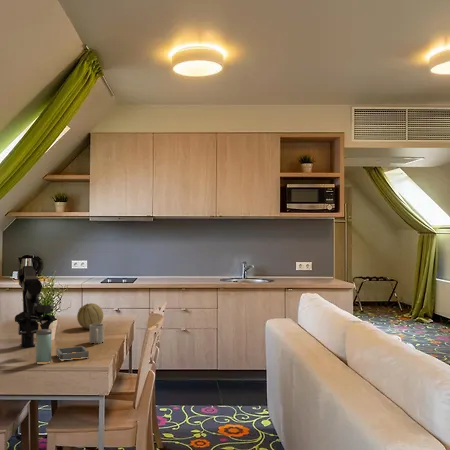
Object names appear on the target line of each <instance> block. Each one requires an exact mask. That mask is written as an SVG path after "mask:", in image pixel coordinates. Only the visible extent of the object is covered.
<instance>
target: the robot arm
mask: <svg viewBox="0 0 450 450" xmlns="http://www.w3.org/2000/svg"><path fill="white" fill-rule="evenodd" d="M36 274H37V273H36V269H35V268H34V266H33V265H24V266H22V267H21V268H20V269H18V270H17V274H16V275H17V278H16V280H17V281H18V285H19V286H20V288H22V289H21V290H22V291H21V292H22V312H20V313H18V314H15V315H14V322H15V323H17V325H18V328H17V333H18V335H19V336H20V337H21V339H20V340H21V341H20V342H21V343H20V344H19V347H20V348H21V347H24V348H32V347H35V348H36V343H35V342H34V341H35V336H34V335H35V334H36V331H37V330H39V327H40V329H50V328H49V327H50V325H51V324H53V322H55V321H56V317H55V315H53V314H50V313H52V312H53V311H54V305H53V304H47V305H46V304H42V303H40V295H41V293H42V289H43V283H42V282H41V280H40V279H39V277H38V276H36ZM46 313H47V314H46ZM38 321H39V323H38Z"/></svg>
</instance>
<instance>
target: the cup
mask: <svg viewBox="0 0 450 450" xmlns="http://www.w3.org/2000/svg"><path fill="white" fill-rule="evenodd" d="M88 336H89V338H88V340H89V344H91V343H101V344H103V343H104V341H105V324H104V323H101V324H91V325H90V329H89V335H88ZM102 342H103V343H102Z"/></svg>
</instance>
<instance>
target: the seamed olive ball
mask: <svg viewBox="0 0 450 450" xmlns="http://www.w3.org/2000/svg"><path fill="white" fill-rule="evenodd" d="M103 318H104V311H103V309H102V307H101V306H100V305H98V304H96V303H92V302H89V303H86V304H84V305H82V306H81V307H80V308H79V309H78V311H77V315H76V319H77V322H78V325H80V326H81V327H82V328H84V329H87V330H90V325H91V324H102V322H103V320H104V319H103Z"/></svg>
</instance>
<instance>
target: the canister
mask: <svg viewBox="0 0 450 450" xmlns="http://www.w3.org/2000/svg"><path fill="white" fill-rule="evenodd" d="M52 331H53V330H52V329H51V328H49V329H41V328H39V329H38V330H37V331H36V333H35V334H36V336H35V337H36V343H35V348H36V349H35V351H36V352H35V363H36V362H49V361H51V362H52Z"/></svg>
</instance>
